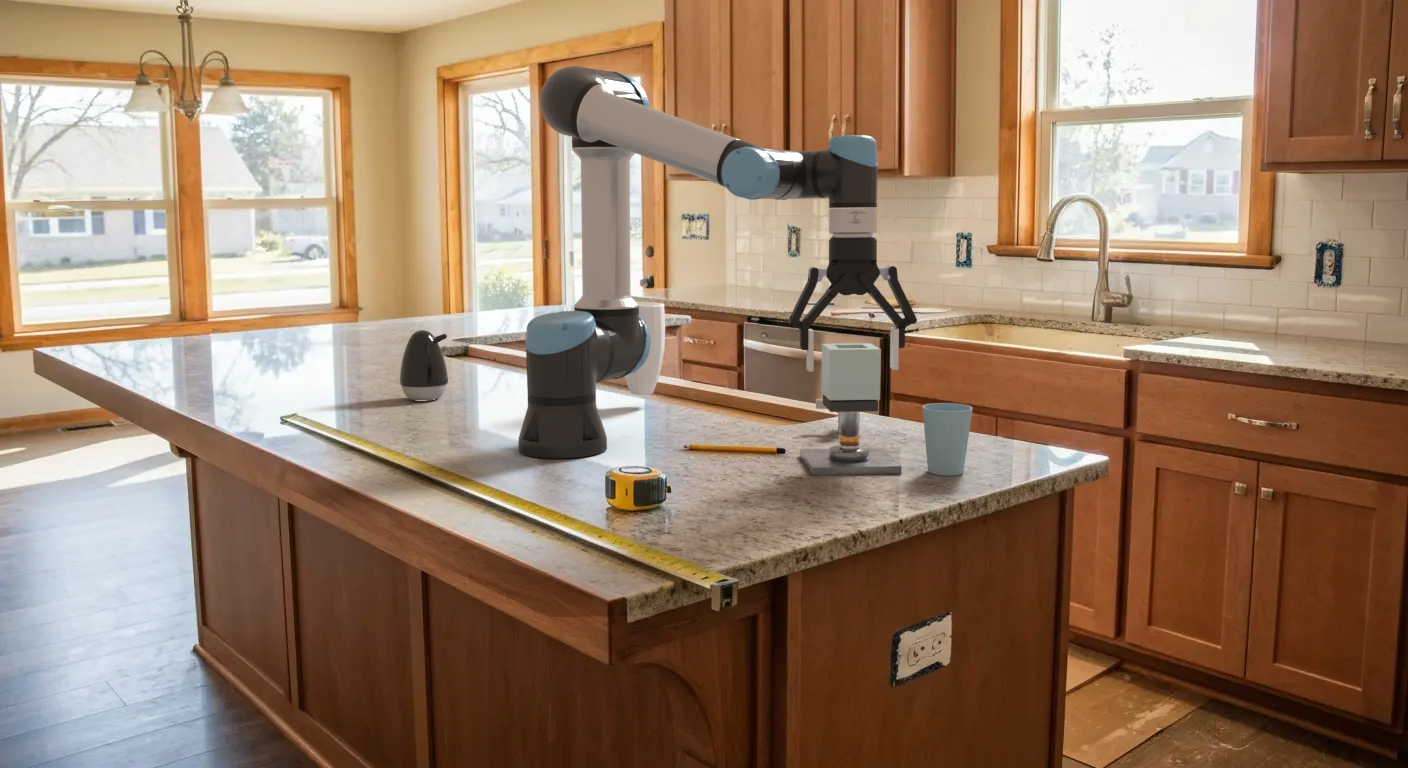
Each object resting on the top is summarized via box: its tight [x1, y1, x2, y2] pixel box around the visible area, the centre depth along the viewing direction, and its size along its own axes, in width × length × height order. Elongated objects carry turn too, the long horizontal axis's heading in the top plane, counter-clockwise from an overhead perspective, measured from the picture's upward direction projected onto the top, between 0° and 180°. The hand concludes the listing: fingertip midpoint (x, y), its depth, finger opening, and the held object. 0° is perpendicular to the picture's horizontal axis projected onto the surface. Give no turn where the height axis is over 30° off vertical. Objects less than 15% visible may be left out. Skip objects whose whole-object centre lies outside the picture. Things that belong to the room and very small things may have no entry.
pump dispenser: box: [399, 329, 449, 401], centre depth 255 cm, size 10×10×15 cm
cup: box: [922, 402, 973, 477], centre depth 185 cm, size 8×8×10 cm
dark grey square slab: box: [822, 393, 879, 413], centre depth 190 cm, size 8×8×2 cm
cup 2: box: [624, 301, 666, 396], centre depth 245 cm, size 10×10×22 cm
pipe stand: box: [799, 412, 903, 476], centre depth 190 cm, size 14×14×14 cm
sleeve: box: [821, 342, 882, 401], centre depth 189 cm, size 8×8×8 cm
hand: (852, 369), depth 189 cm, fingers open, 13 cm apart
